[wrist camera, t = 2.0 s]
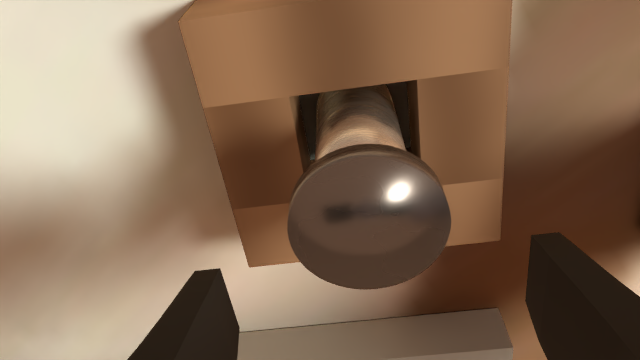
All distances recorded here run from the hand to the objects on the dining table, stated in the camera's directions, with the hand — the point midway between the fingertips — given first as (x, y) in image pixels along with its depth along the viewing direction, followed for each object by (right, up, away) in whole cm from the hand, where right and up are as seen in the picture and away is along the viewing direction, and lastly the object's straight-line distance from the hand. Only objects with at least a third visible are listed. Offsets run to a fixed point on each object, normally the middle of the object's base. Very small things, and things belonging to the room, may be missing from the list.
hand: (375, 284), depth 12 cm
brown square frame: (0, +5, +8) cm, 10 cm away
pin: (0, +5, +8) cm, 10 cm away
